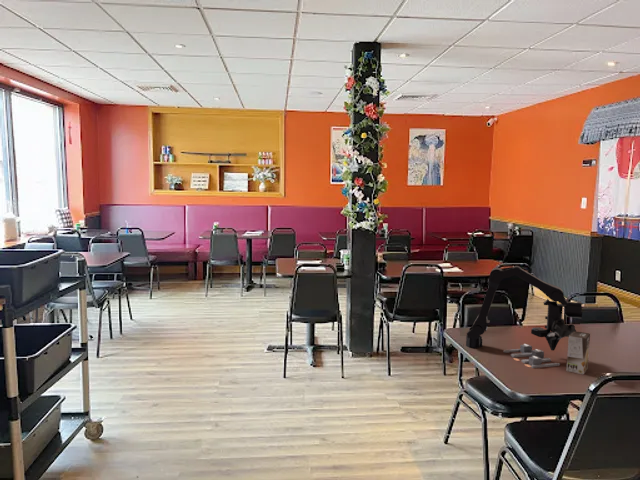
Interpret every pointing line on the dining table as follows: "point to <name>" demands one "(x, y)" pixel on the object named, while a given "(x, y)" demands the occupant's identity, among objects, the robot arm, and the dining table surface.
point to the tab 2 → (538, 353)
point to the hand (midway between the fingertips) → (552, 350)
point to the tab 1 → (525, 348)
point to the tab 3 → (535, 360)
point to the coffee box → (578, 352)
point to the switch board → (528, 359)
